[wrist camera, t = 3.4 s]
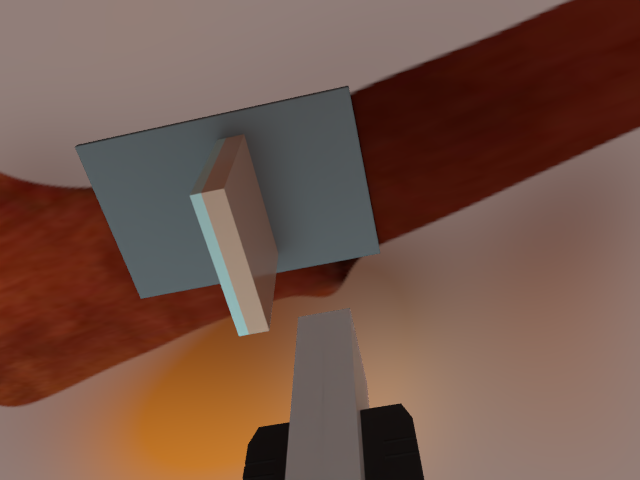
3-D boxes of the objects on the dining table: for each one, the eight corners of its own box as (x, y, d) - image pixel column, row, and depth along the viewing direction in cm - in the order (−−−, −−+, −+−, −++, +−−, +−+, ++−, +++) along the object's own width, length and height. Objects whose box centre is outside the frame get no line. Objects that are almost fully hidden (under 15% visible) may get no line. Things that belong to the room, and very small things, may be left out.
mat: (142, 295, 42) (140, 298, 42) (77, 144, 37) (74, 146, 37) (379, 250, 41) (380, 253, 40) (348, 85, 35) (348, 87, 35)
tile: (254, 258, 41) (239, 336, 33) (217, 139, 36) (189, 195, 28) (278, 253, 40) (269, 330, 32) (244, 134, 36) (223, 188, 28)
